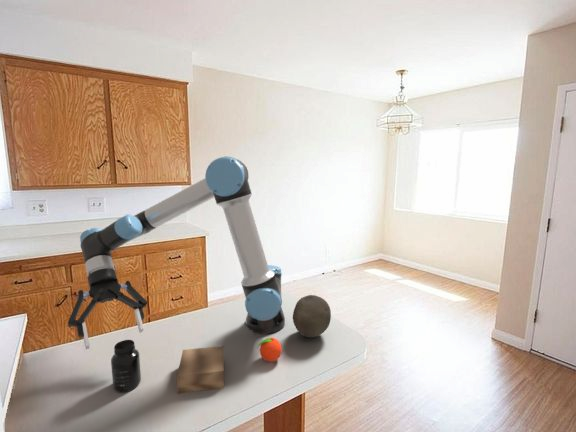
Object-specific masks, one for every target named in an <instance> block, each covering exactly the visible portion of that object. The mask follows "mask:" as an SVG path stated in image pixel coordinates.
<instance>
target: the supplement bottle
mask: <svg viewBox="0 0 576 432" xmlns="http://www.w3.org/2000/svg"><path fill="white" fill-rule="evenodd" d="M113 349H114V351H113V352H114V354H113V355H112V357H111V360H110V365H111V379H112V387H113V390H114V392H117V393H126V392H131V391H132V390H134V389H135V388H137V387H138V386H139V385H140V383H141V382H142V372H141V371H142V370H141V359H140V352H139V350H138V349H136V346H135V341H134V340H133V339H123V340H120V341H119V342H117V343H115V345H114V347H113Z"/></svg>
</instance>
